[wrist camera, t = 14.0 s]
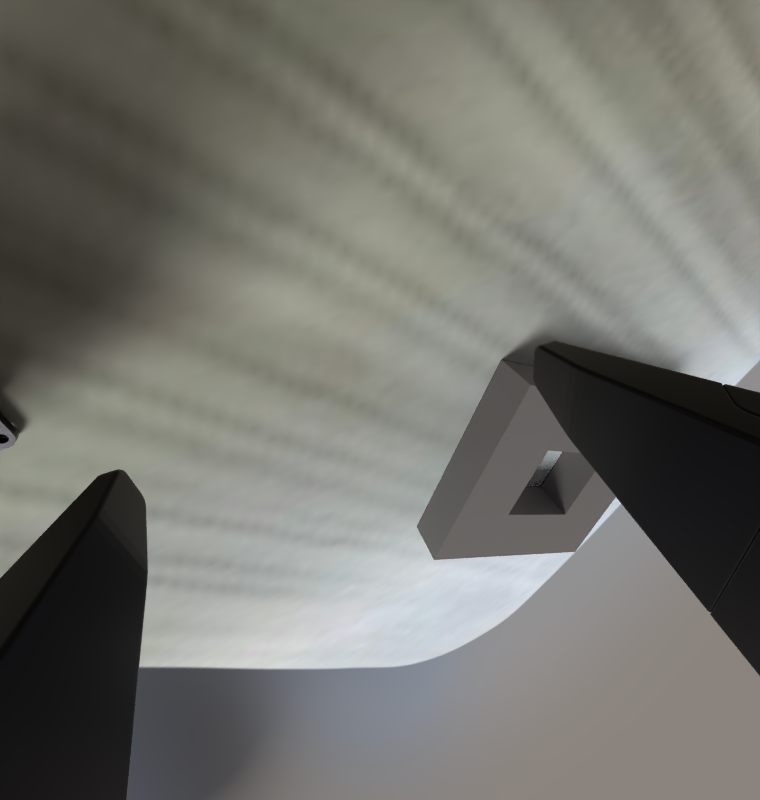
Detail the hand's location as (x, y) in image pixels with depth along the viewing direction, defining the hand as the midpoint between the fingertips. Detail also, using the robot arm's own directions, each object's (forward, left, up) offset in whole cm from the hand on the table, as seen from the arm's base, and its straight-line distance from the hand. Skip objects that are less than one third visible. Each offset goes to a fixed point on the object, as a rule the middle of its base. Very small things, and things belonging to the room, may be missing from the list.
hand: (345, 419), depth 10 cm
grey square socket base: (+13, -20, -13) cm, 27 cm away
